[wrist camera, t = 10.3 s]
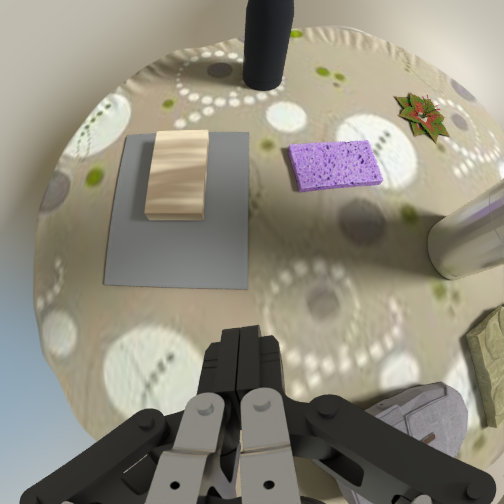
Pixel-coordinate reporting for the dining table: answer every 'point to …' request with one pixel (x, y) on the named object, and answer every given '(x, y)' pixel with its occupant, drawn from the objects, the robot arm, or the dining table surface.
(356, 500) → the small grey backpack
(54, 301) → the dining table surface
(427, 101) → the green leafy rosette
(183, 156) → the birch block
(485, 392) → the decorative tile
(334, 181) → the sponges
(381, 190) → the dining table surface
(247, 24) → the black water bottle
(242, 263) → the rubber mat
